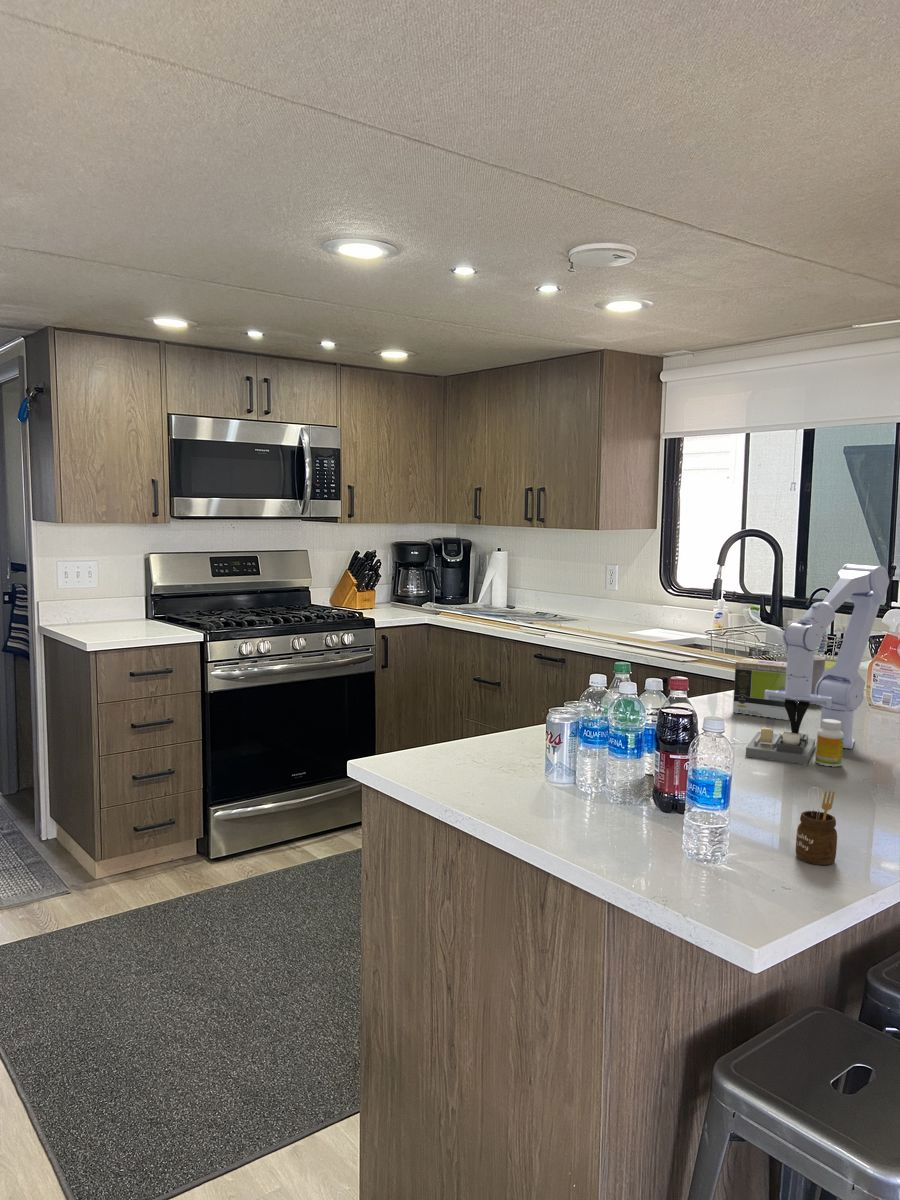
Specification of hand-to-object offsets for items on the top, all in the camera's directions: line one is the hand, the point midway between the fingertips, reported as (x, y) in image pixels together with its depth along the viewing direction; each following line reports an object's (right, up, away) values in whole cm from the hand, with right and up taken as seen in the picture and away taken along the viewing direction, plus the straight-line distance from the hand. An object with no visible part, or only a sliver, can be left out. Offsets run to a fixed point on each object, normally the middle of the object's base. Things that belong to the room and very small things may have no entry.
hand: (795, 732), depth 209 cm
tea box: (+7, -1, +40) cm, 40 cm away
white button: (-4, -2, -7) cm, 8 cm away
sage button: (0, -2, 0) cm, 2 cm away
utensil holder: (-23, -10, -67) cm, 72 cm away
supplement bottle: (+3, -6, -10) cm, 12 cm away
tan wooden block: (-8, -2, -3) cm, 8 cm away
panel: (-4, -4, -1) cm, 6 cm away
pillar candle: (+26, 0, +60) cm, 65 cm away
